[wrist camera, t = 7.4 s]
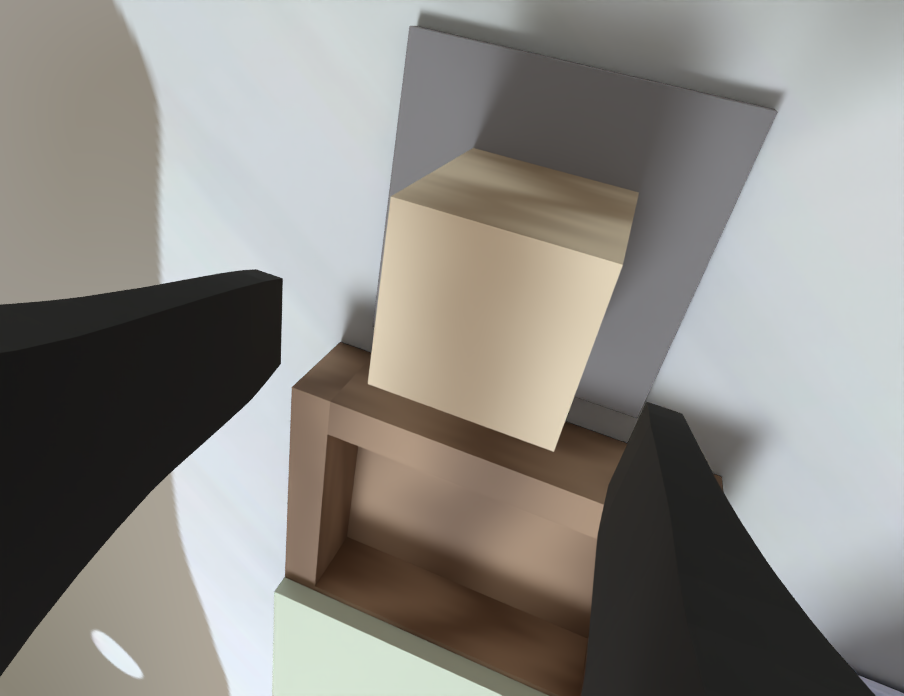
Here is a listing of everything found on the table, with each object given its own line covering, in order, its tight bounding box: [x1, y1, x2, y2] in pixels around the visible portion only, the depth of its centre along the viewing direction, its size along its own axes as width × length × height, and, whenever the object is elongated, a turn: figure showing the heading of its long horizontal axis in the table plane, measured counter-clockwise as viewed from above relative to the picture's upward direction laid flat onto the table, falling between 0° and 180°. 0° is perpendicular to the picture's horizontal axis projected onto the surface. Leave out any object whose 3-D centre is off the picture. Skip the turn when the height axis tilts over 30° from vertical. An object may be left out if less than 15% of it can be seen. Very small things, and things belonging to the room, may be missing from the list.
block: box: [368, 148, 639, 452], centre depth 15 cm, size 5×5×6 cm
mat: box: [373, 26, 777, 418], centre depth 18 cm, size 10×10×1 cm
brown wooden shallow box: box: [285, 342, 723, 696], centre depth 26 cm, size 15×22×4 cm
